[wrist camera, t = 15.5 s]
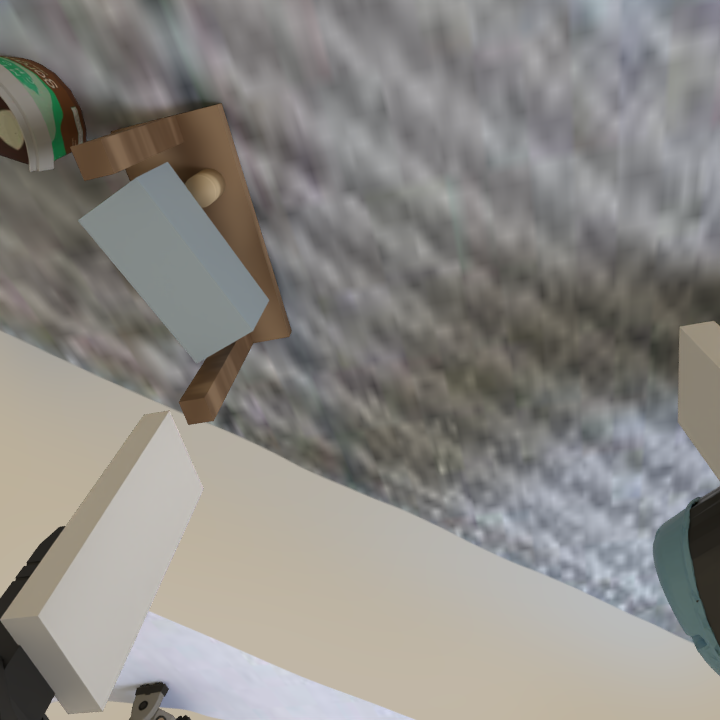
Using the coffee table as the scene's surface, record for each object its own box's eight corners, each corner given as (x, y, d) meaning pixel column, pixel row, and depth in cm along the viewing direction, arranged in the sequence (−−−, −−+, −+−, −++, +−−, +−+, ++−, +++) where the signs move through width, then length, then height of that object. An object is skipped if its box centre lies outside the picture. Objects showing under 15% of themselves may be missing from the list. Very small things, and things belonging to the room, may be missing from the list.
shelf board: (167, 161, 45) (135, 177, 40) (269, 300, 50) (253, 330, 45) (115, 200, 47) (77, 220, 41) (218, 330, 51) (196, 363, 46)
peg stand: (221, 103, 47) (155, 125, 34) (291, 331, 56) (258, 413, 43) (117, 129, 48) (17, 160, 36) (201, 347, 57) (145, 431, 45)
